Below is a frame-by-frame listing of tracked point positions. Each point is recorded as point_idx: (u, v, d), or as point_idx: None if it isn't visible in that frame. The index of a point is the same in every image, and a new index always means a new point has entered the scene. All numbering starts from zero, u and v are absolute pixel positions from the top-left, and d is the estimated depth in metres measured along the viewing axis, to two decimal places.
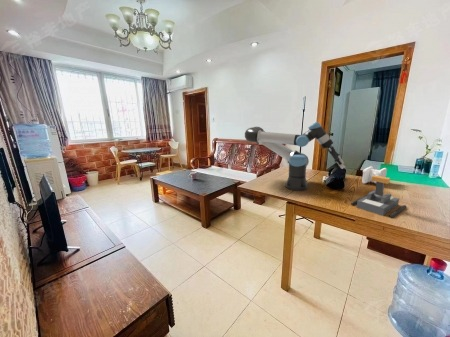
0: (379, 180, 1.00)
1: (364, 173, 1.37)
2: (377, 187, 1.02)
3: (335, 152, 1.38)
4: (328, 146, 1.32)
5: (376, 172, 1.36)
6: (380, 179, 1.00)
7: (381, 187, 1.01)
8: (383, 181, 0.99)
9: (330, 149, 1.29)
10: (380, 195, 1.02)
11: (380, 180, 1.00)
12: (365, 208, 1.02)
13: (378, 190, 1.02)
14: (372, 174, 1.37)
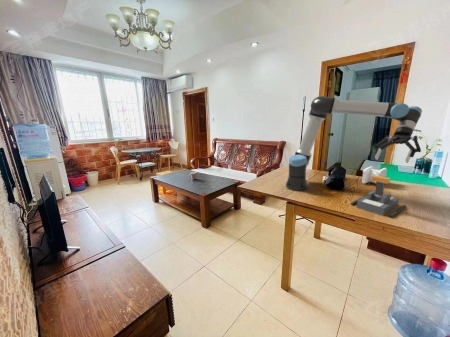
0: (379, 180, 1.00)
1: (364, 173, 1.37)
2: (377, 187, 1.02)
3: (387, 145, 1.11)
4: (410, 135, 1.05)
5: (376, 172, 1.36)
6: (380, 179, 1.00)
7: (381, 187, 1.01)
8: (383, 181, 0.99)
9: (417, 138, 1.02)
10: (380, 195, 1.02)
11: (380, 180, 1.00)
12: (365, 208, 1.02)
13: (378, 190, 1.02)
14: (372, 174, 1.37)
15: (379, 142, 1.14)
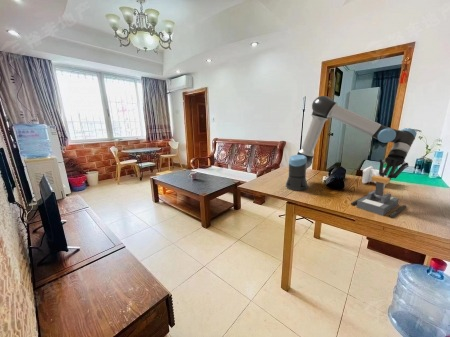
0: (379, 180, 1.00)
1: (364, 173, 1.37)
2: (377, 187, 1.02)
3: (388, 170, 1.06)
4: None
5: (376, 172, 1.36)
6: (380, 179, 0.99)
7: (381, 187, 1.01)
8: (383, 181, 0.99)
9: (406, 166, 1.01)
10: (380, 195, 1.02)
11: (380, 180, 1.00)
12: (365, 208, 1.02)
13: (378, 190, 1.02)
14: (372, 174, 1.37)
15: (380, 168, 1.08)
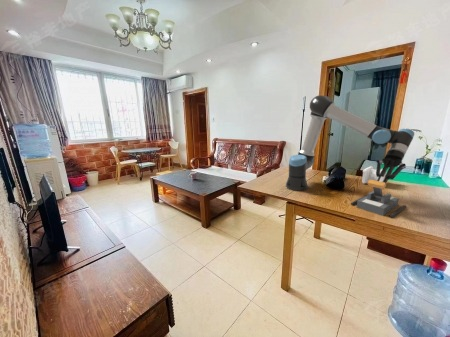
0: (375, 186, 0.99)
1: (364, 173, 1.37)
2: (375, 190, 1.02)
3: (385, 171, 1.04)
4: None
5: None
6: (376, 185, 0.98)
7: (379, 190, 1.00)
8: (379, 187, 0.97)
9: (404, 167, 0.99)
10: (380, 196, 1.02)
11: (376, 186, 0.98)
12: (365, 208, 1.02)
13: (377, 192, 1.02)
14: (372, 174, 1.37)
15: (377, 168, 1.06)
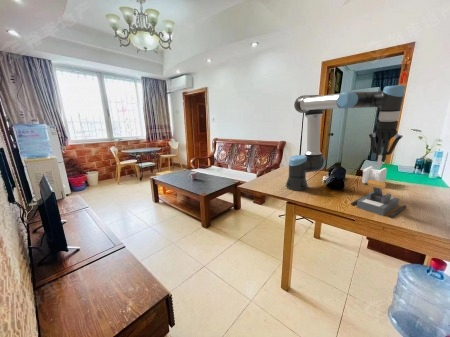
0: (375, 186, 0.99)
1: (364, 173, 1.37)
2: (375, 190, 1.02)
3: None
4: None
5: (376, 172, 1.36)
6: (376, 185, 0.98)
7: (379, 190, 1.00)
8: (379, 187, 0.97)
9: (400, 138, 0.88)
10: (380, 196, 1.02)
11: (376, 186, 0.98)
12: (365, 208, 1.02)
13: (377, 192, 1.02)
14: (372, 174, 1.37)
15: (372, 145, 0.97)
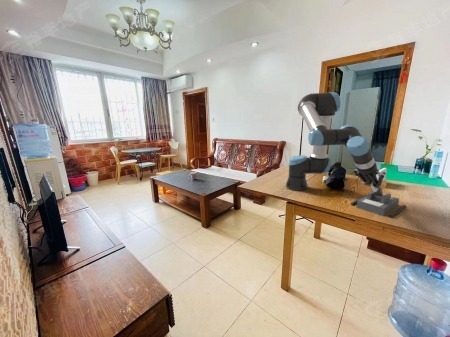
0: None
1: None
2: None
3: None
4: None
5: None
6: None
7: (379, 190, 1.00)
8: (380, 186, 0.97)
9: None
10: (380, 196, 1.02)
11: None
12: (365, 208, 1.02)
13: (377, 192, 1.02)
14: None
15: (360, 178, 0.97)
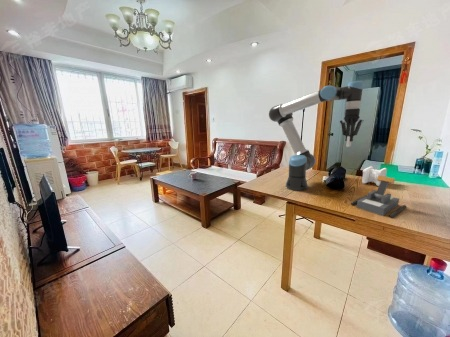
0: (385, 179, 1.04)
1: (364, 173, 1.37)
2: (380, 186, 1.04)
3: (349, 128, 1.21)
4: None
5: (376, 172, 1.36)
6: (386, 178, 1.04)
7: (384, 186, 1.03)
8: (388, 180, 1.03)
9: (361, 122, 1.14)
10: (381, 194, 1.03)
11: (386, 179, 1.04)
12: (365, 208, 1.02)
13: (380, 189, 1.04)
14: (372, 174, 1.37)
15: (342, 129, 1.23)
